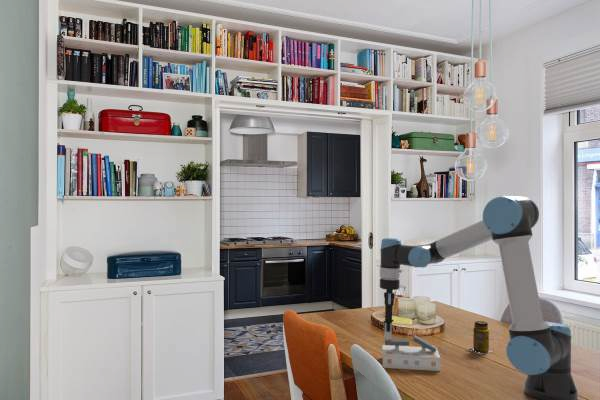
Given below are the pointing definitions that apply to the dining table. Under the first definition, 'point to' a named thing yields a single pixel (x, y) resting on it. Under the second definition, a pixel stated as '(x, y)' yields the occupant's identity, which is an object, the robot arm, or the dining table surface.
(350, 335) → the dining table surface
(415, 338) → the rocker
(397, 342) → the rocker
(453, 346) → the dining table surface
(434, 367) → the switch unit
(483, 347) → the condiment
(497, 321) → the dining table surface
